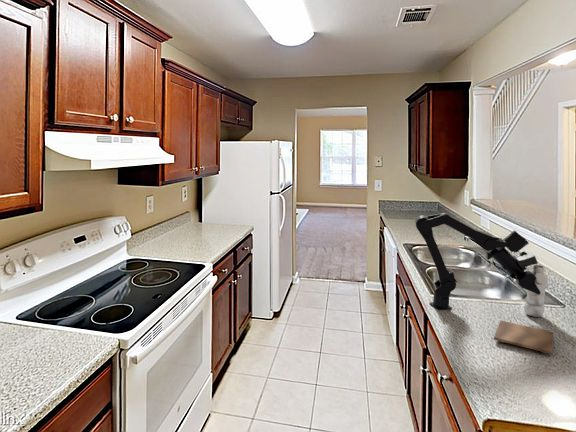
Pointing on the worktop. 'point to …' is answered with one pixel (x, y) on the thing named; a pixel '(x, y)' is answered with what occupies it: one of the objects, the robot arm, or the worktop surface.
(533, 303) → the plastic bottle
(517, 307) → the worktop surface
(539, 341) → the shelf board
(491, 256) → the robot arm
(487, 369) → the worktop surface
